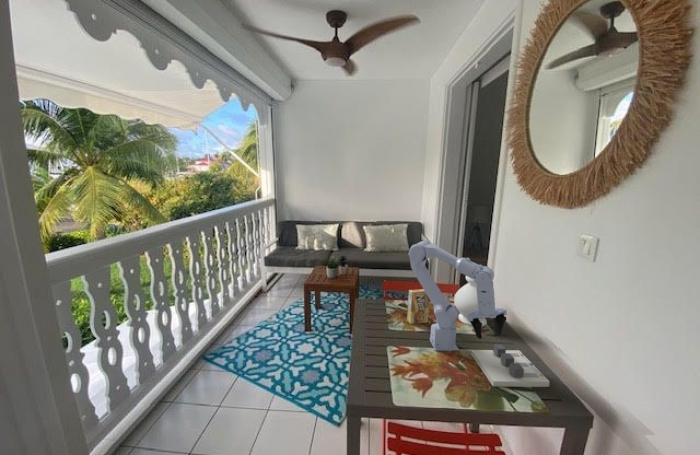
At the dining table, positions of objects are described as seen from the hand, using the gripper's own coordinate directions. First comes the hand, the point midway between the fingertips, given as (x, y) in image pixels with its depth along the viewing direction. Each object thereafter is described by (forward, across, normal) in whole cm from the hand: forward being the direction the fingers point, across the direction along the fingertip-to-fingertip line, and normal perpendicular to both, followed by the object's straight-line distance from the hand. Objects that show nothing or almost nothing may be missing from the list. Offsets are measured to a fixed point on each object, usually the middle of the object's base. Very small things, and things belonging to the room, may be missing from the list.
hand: (488, 335), depth 106 cm
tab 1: (+8, +4, 0) cm, 9 cm away
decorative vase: (+8, +11, +29) cm, 32 cm away
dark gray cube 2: (+8, +3, -5) cm, 10 cm away
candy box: (+5, -16, +31) cm, 35 cm away
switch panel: (+11, +3, -5) cm, 12 cm away
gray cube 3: (+9, +2, -11) cm, 14 cm away
